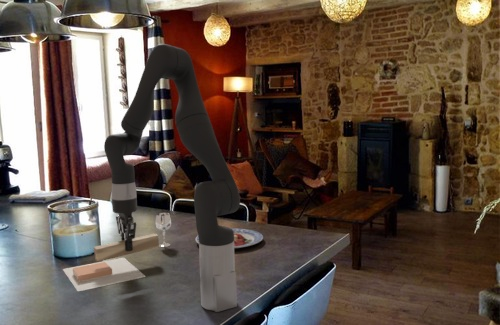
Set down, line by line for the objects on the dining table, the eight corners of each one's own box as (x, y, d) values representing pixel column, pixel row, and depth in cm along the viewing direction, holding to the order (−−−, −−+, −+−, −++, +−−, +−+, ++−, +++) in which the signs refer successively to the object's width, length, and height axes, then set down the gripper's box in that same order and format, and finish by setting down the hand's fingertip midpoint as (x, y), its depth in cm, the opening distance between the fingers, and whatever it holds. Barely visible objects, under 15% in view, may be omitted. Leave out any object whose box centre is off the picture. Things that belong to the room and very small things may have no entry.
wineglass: (157, 248, 176) (155, 216, 174) (156, 243, 181) (154, 213, 180) (172, 246, 177) (171, 215, 176) (171, 242, 183) (170, 211, 181)
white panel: (146, 279, 145) (145, 276, 145) (78, 294, 134) (77, 291, 134) (123, 260, 163) (123, 257, 163) (62, 272, 153) (62, 269, 153)
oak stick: (159, 247, 156) (157, 235, 156) (97, 261, 146) (96, 249, 145) (155, 244, 159) (154, 233, 158) (95, 259, 148) (93, 246, 148)
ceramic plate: (182, 248, 176) (181, 240, 176) (218, 230, 199) (218, 223, 199) (242, 257, 164) (242, 249, 164) (274, 237, 187) (274, 230, 187)
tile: (112, 269, 146) (78, 276, 141) (112, 275, 146) (78, 282, 141) (104, 262, 153) (72, 268, 147) (105, 267, 153) (73, 274, 148)
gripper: (143, 198, 146) (146, 253, 148) (129, 191, 158) (131, 242, 160) (119, 201, 142) (122, 257, 144) (106, 194, 154) (109, 246, 156)
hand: (127, 249), depth 152 cm, fingers closed on oak stick, 3 cm apart
